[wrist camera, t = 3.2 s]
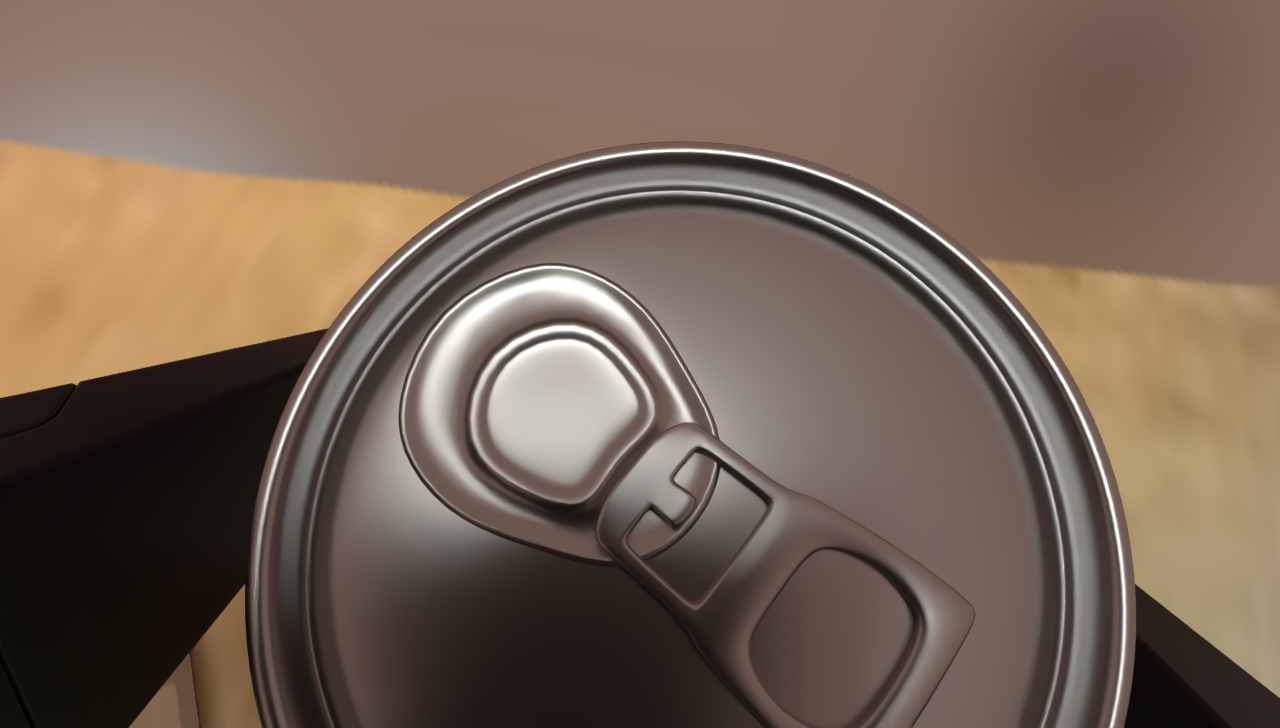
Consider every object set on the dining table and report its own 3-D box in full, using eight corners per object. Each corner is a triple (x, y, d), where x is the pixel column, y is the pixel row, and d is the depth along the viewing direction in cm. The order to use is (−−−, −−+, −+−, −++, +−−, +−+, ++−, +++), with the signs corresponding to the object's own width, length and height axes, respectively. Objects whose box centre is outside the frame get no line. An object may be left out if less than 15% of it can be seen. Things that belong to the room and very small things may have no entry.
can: (620, 356, 17) (628, -51, 5) (822, 517, 16) (1371, 454, 4) (448, 556, 15) (-70, 605, 4) (659, 746, 14) (829, 1582, 3)
